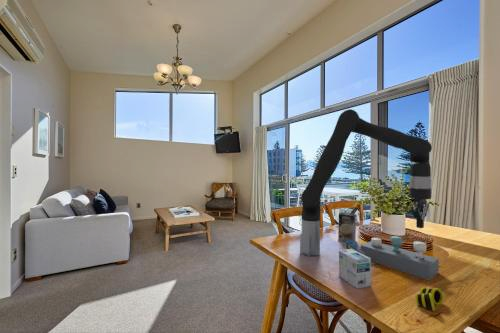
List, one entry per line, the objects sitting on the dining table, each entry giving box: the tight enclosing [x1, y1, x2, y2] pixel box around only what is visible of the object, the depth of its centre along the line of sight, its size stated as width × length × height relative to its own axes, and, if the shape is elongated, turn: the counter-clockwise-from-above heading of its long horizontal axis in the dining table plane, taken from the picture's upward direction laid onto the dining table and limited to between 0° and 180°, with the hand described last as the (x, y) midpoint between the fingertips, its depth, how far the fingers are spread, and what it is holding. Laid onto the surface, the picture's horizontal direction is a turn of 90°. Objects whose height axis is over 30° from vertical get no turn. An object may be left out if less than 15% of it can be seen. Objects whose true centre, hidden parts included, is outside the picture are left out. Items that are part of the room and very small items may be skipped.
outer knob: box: [412, 241, 427, 260], centre depth 99 cm, size 4×4×8 cm
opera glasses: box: [415, 287, 444, 312], centre depth 77 cm, size 10×5×5 cm, turn 127°
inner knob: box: [370, 237, 383, 247], centre depth 114 cm, size 4×4×8 cm
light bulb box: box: [338, 248, 372, 289], centre depth 91 cm, size 11×7×11 cm, turn 17°
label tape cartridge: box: [345, 238, 365, 255], centre depth 103 cm, size 9×4×12 cm, turn 9°
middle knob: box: [390, 235, 403, 253], centre depth 106 cm, size 4×4×8 cm
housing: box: [359, 240, 440, 281], centre depth 106 cm, size 11×28×6 cm, turn 36°
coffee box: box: [337, 211, 357, 244], centre depth 139 cm, size 9×6×16 cm
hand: (420, 227), depth 99 cm, fingers closed
